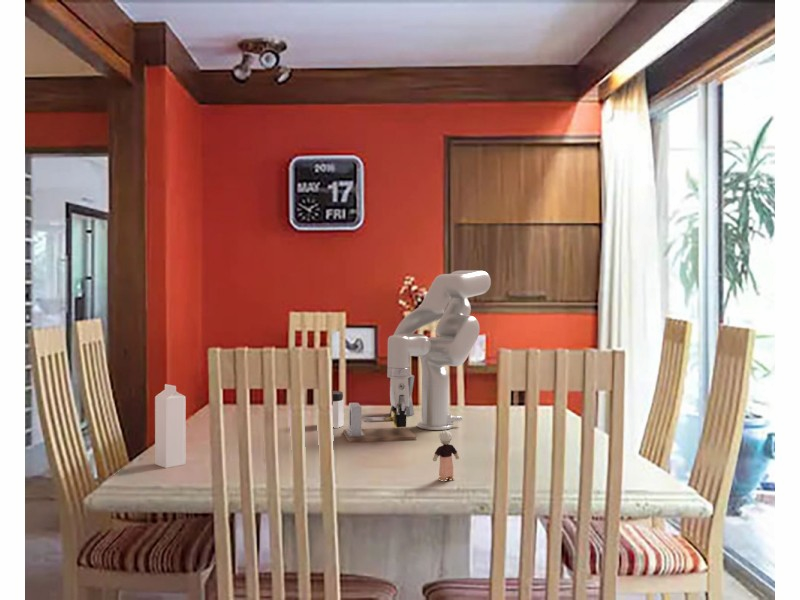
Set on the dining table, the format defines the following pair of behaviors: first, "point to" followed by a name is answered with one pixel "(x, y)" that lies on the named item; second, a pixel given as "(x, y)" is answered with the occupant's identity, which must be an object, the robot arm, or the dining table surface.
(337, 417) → the jar
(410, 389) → the coffeepot
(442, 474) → the grandmother figurine
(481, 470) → the dining table surface
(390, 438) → the copper board
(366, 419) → the yellow block headed rod
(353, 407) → the brushed steel socket base
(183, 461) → the milk
